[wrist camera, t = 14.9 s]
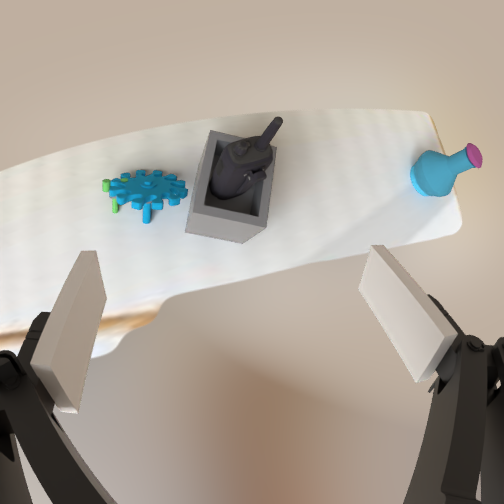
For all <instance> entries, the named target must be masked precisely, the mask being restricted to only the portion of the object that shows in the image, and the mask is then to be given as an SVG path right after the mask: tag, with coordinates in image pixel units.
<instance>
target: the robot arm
mask: <svg viewBox="0 0 504 504" xmlns="http://www.w3.org/2000/svg"><path fill="white" fill-rule="evenodd" d="M358 290H359V291H360V293H361V294H362V296H363V298H364V299H365V301H366V302H367V304H368V305H369V307H370V308H371V310H372V312H373V313H374V314H375V316H376V318H377V319H378V321H379V322H380V324H381V326H382V327H383V329H384V331H385V332H386V334H387V335H388V337H389V339H390V340H391V342H392V344H393V345H394V347H395V349H396V350H397V352H398V354H399V355H400V357H401V359H402V360H403V362H404V363H405V365H406V367H407V369H408V370H409V372H410V374H411V376H412V377H413V379H414V381H415V382H416V383H419V382H422V381H425V380H429V379H430V377H431V376H432V374H433V373H434V372H435V370H436V371H437V373H438V375H439V376H438V377H437V379H436V380H435V381H434V383H433V384H432V386H431V387H430V389H429V391H428V392H429V393H430V392H431V391H432V389H433V388H434V392H433V398H432V403H431V408H430V413H429V418H428V422H427V426H426V430H425V434H424V438H423V442H422V446H421V450H420V453H419V457H418V460H417V464H416V467H415V470H414V473H413V476H412V479H411V483H410V485H409V488H408V491H407V494H406V497H405V500H404V503H403V504H504V337H501V338H499V339H498V340H497V342H496V343H495V345H494V346H492V345H485V344H484V343H483V341H481V340H480V339H479V338H477V337H475V336H473V335H465V334H464V333H463V331H462V330H461V329H460V327H459V326H458V325H457V324H456V322H455V321H454V320H453V319H452V318H451V316H450V315H449V314H448V313H447V311H446V310H444V308H443V307H442V305H441V304H440V303H439V302H438V301H437V300H436V299H435V298H433V297H432V296H431V295H427V294H426V293H425V292H424V291H423V290H422V288H421V287H420V286H419V285H418V284H417V282H416V281H415V280H414V279H413V278H412V277H411V276H410V274H409V273H408V272H407V271H406V270H405V269H404V268H403V267H402V265H401V264H400V263H399V262H398V261H397V260H396V259H395V257H394V256H393V255H392V254H391V253H390V252H389V251H388V250H387V249H386V248H385V246H384V245H371V247H370V251H369V254H368V258H367V262H366V265H365V269H364V272H363V275H362V279H361V282H360V285H359V288H358ZM106 300H107V297H106V293H105V289H104V285H103V280H102V276H101V271H100V267H99V262H98V257H97V252H96V251H81V252H80V254H79V256H78V258H77V260H76V262H75V264H74V266H73V268H72V270H71V271H70V273H69V275H68V277H67V279H66V281H65V283H64V285H63V288H62V290H61V292H60V294H59V296H58V298H57V300H56V302H55V304H54V307H53V309H52V311H51V312H41V313H40V314H39V315H38V316H37V317H36V318H35V319H34V320H33V322H32V324H31V326H30V329H29V332H28V333H27V335H26V340H24V342H23V344H22V347H21V349H20V351H19V354H18V356H17V357H16V355H15V354H14V353H13V352H11V351H9V350H3V351H0V504H33V503H32V499H31V496H30V493H29V490H28V487H27V483H26V480H25V476H24V473H23V469H22V465H21V461H20V457H19V453H18V448H17V443H16V438H15V435H16V437H17V439H18V441H19V443H20V446H21V448H22V450H23V452H24V454H25V456H26V457H27V460H28V462H29V463H30V465H31V467H32V469H33V471H34V473H35V474H36V476H37V478H38V480H39V482H40V483H41V485H42V487H43V488H44V490H45V492H46V493H47V495H48V497H49V498H50V500H51V501H52V503H53V504H117V503H116V502H115V501H114V499H113V498H112V497H111V496H110V495H109V493H108V492H107V491H106V490H105V488H104V487H103V486H102V485H101V483H100V482H99V481H98V479H97V478H96V477H95V476H94V474H93V473H92V471H91V470H90V469H89V467H88V466H87V464H86V463H85V462H84V460H83V459H82V457H81V456H80V454H79V453H78V451H77V450H76V448H75V447H74V445H73V444H72V442H71V441H70V439H69V438H68V436H67V434H66V433H65V431H64V430H63V428H62V427H61V425H60V423H59V421H58V420H57V418H56V416H55V415H54V413H53V408H54V404H56V406H57V407H58V409H59V410H60V411H61V412H68V413H77V414H78V413H79V408H80V403H81V398H82V393H83V388H84V384H85V379H86V375H87V370H88V366H89V362H90V358H91V354H92V350H93V346H94V342H95V338H96V335H97V331H98V327H99V324H100V320H101V317H102V313H103V310H104V306H105V303H106ZM499 380H500V382H501V386H500V387H499V388H498V389H497V386H496V384H497V382H498V381H499ZM480 472H481V502H480V501H478V500H476V490H477V485H478V480H479V474H480Z"/></svg>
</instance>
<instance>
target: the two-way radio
mask: <svg viewBox="0 0 504 504" xmlns="http://www.w3.org/2000/svg"><path fill="white" fill-rule="evenodd" d="M282 123H283V120H282V118H281V117H275V118H274V120H273V121H272V122H271V123H270V125H269V126H268V127H267V128H266V130H265V131H264V133H263V134H262V135H261V136H255V137H250V138H245V139H241V140H238V141H235V142H232V143H230V144H228V145H227V146H226V147H225V148H224V150H223V152H222V154H221V156H220V158H219V160H218V163H217V165H216V167H215V169H214V172H213V175H212V177H211V180H210V183H209V188H210V191H211V193H212V195H214V196H215V197H217V198H218V199H220V200H227V199H231V198H235V197H237V196H240V195H242V194H244V193H245V192H246V191H248V190H249V189H250V188H251V187H252V185H253V184H254V183H255V182H259V181H262V180H264V179H266V177H267V175H266V173H265V171H266V169H267V168H268V167H269V166H270V164H271V163H272V161H273V150H272V148H271V145H270V144H269V143H270V141H271V140H272V138H273V137H274V136H275V134H276V132H277V131H278V129H279V128H280V126H281V125H282Z"/></svg>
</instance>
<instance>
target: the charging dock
mask: <svg viewBox="0 0 504 504" xmlns="http://www.w3.org/2000/svg"><path fill="white" fill-rule="evenodd" d="M241 139H245V138H241V137H237V136H233V135H229V134H225V133H220V132H216V131H212V130H210V133H209V136H208V139H207V142H206V145H205V148H204V151H203V154H202V157H201V160H200V163H199V167H198V171H197V176H196V180H195V185H194V189H193V194H192V199H191V204H190V209H189V214H188V219H187V224H186V229H185V232H186V233H191V234H196V235H201V236H206V237H211V238H217V239H222V240H227V241H232V242H237V243H242V244H243V243H244V242H246V241H247V240H249V239H250V238H252V237H253V236H255V235H256V234H258V233H259V232H261V231H262V230H264V229H265V228H266V225H267V218H268V210H269V203H270V195H271V188H272V180H273V172H274V164H275V157H276V149H277V147H274V146H271V148H272V150H273V161H272V163H271V164H270V166H269V167H268V168H267V169H266V171H265V173H266V175H267V177H266V179H264V180H262V181H259V182H255V183H254V184H253V185H252V187H251V188H250V189H249V190H248V191H246V192H245V193H244V194H242V195H240V196H237V197H235V198H231V199H227V200H220V199H218V198H217V197H215V196H214V195H212V193H211V191H210V188H209V183H210V180H211V177H212V175H213V172H214V169H215V167H216V165H217V163H218V160H219V158H220V156H221V154H222V152H223V150H224V148H225V147H226V146H227V145H228V144H230V143H232V142H235V141H238V140H241Z"/></svg>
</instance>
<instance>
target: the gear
mask: <svg viewBox="0 0 504 504" xmlns="http://www.w3.org/2000/svg"><path fill="white" fill-rule="evenodd" d="M145 173H146V171H145V170H137V171H136V178H130V173H123V174H121V179H118V178H115V179H113V180H111V186H110V180H109V179H105V180H103V191H104V192H109V197H110V198H113V213H117V212H118V204H119V205H123V204H125V203H127V202H130V201H132V208H134V209H137V210H141V209H142V208H143V223H145V224H148V223H150V218H151V203H152V209H154V210H162V209H163V200H162V199H168V200H169V205H171V206H175V205H178V204H180V198H182V199H184V198H185V197H186V196H187V194H188V189H186V188H185V181H183V180H180V181H177V176H175V175H174V174H169V175H167V176H163V177H162V172H161V171H157V170H154V171H153V173H152V174H150V175H148V176H145ZM175 194H176V195H175Z"/></svg>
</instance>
